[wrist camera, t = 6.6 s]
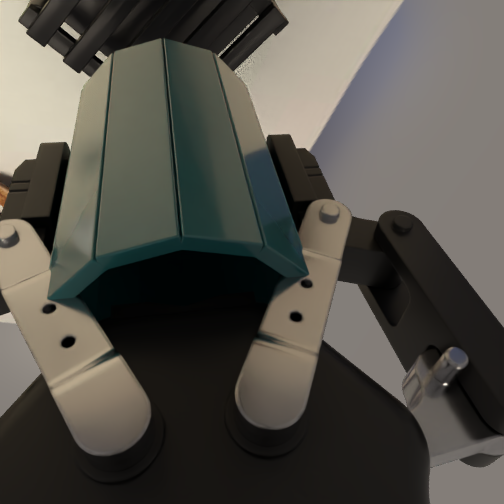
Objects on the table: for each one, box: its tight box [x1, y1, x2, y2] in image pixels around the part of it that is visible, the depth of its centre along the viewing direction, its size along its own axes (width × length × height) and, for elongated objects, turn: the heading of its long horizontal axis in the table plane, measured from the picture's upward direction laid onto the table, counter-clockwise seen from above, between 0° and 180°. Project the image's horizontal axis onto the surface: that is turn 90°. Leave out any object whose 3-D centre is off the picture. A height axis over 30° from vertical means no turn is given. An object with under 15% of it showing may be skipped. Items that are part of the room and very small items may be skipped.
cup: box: [47, 39, 309, 322], centre depth 13 cm, size 6×6×9 cm
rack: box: [19, 0, 289, 77], centre depth 25 cm, size 10×10×7 cm
